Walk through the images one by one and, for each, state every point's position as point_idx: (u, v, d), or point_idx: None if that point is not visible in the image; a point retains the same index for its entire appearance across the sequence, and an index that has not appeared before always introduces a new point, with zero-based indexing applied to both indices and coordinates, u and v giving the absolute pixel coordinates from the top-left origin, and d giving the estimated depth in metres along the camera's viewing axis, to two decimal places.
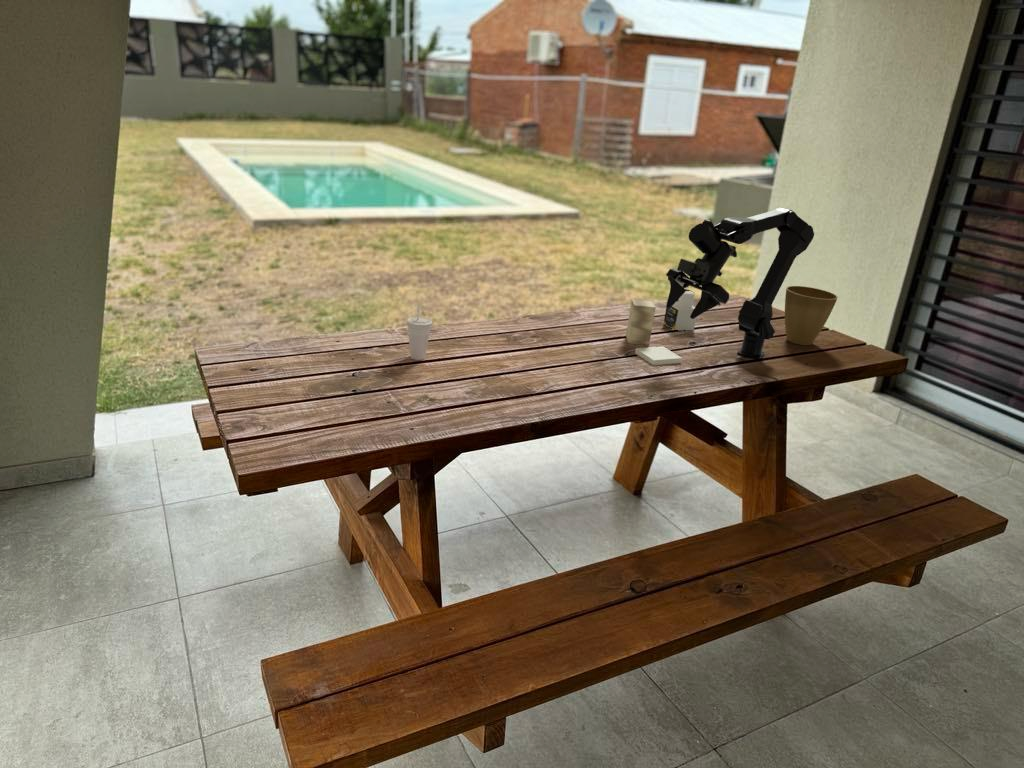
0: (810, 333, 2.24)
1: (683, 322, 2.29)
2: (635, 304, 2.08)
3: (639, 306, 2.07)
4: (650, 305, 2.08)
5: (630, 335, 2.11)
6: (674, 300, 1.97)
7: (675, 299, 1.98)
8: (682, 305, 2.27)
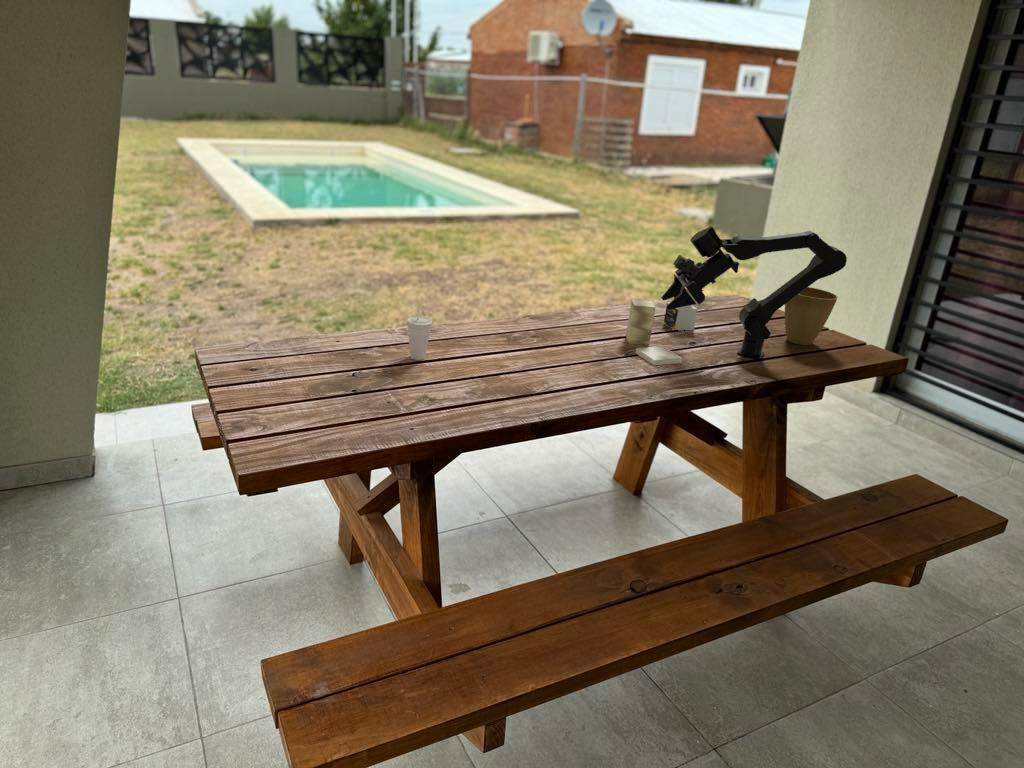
0: (810, 333, 2.24)
1: (683, 322, 2.29)
2: (635, 304, 2.08)
3: (639, 306, 2.07)
4: (650, 305, 2.08)
5: (630, 335, 2.11)
6: (671, 295, 2.13)
7: (672, 294, 2.13)
8: None
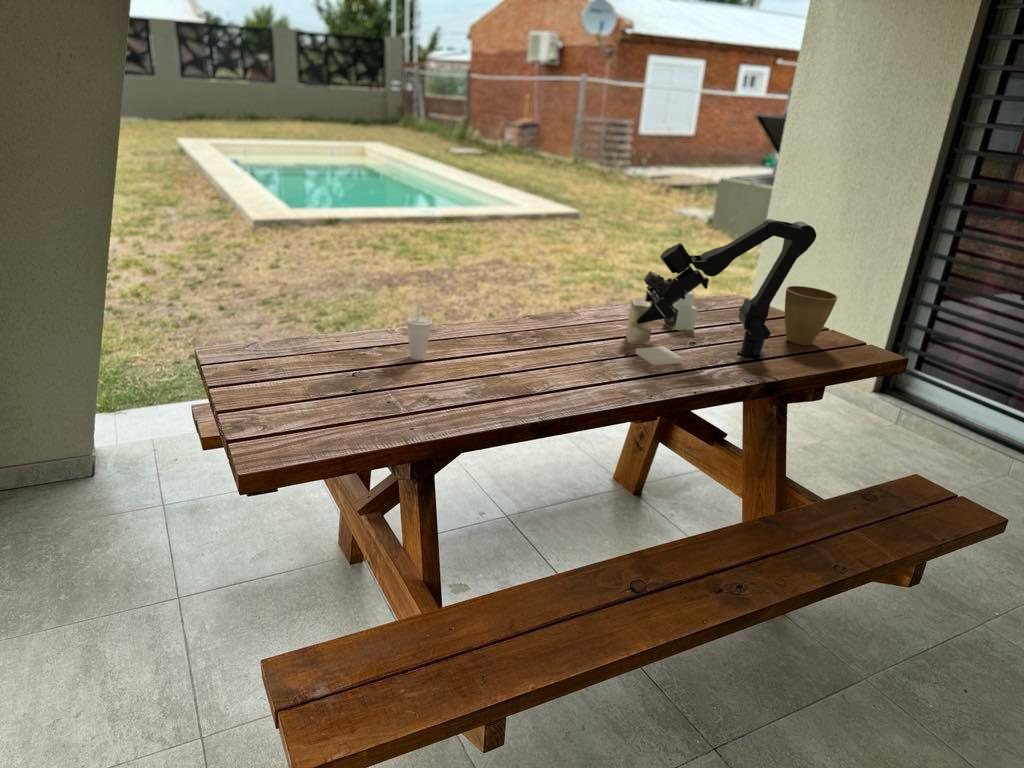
0: (810, 333, 2.24)
1: (683, 322, 2.29)
2: (635, 304, 2.08)
3: (639, 306, 2.07)
4: None
5: (630, 335, 2.11)
6: None
7: None
8: (682, 305, 2.27)
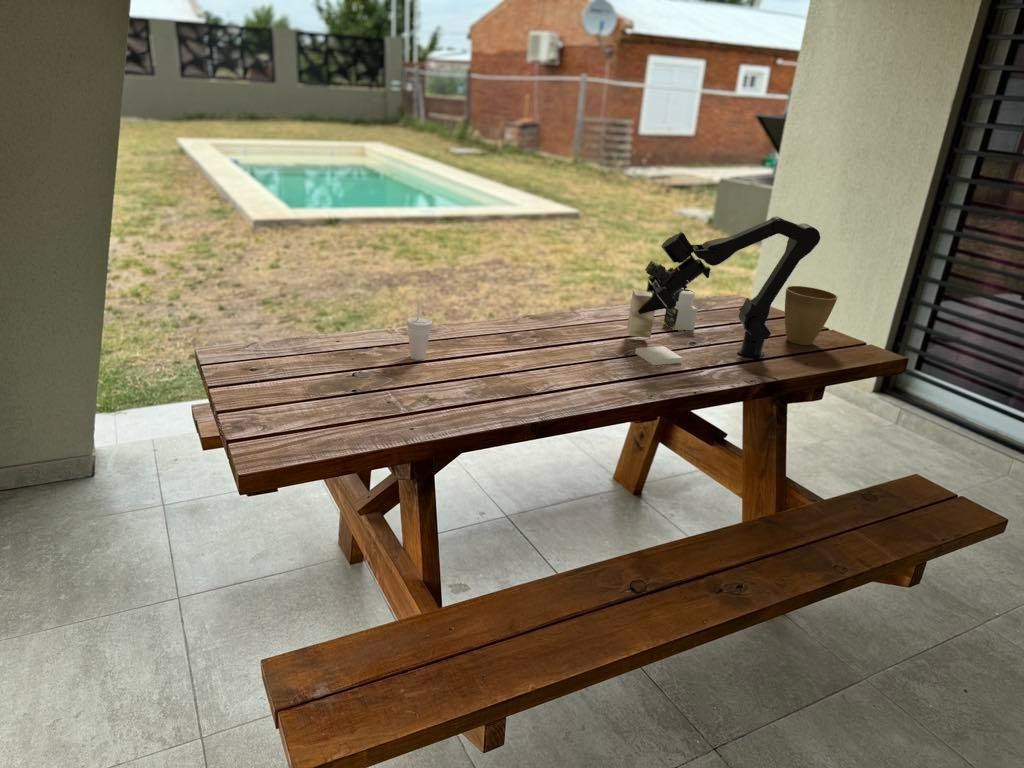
0: (810, 333, 2.24)
1: (683, 322, 2.29)
2: (636, 294, 2.07)
3: (640, 296, 2.06)
4: (651, 295, 2.07)
5: (631, 325, 2.09)
6: None
7: None
8: (682, 305, 2.27)
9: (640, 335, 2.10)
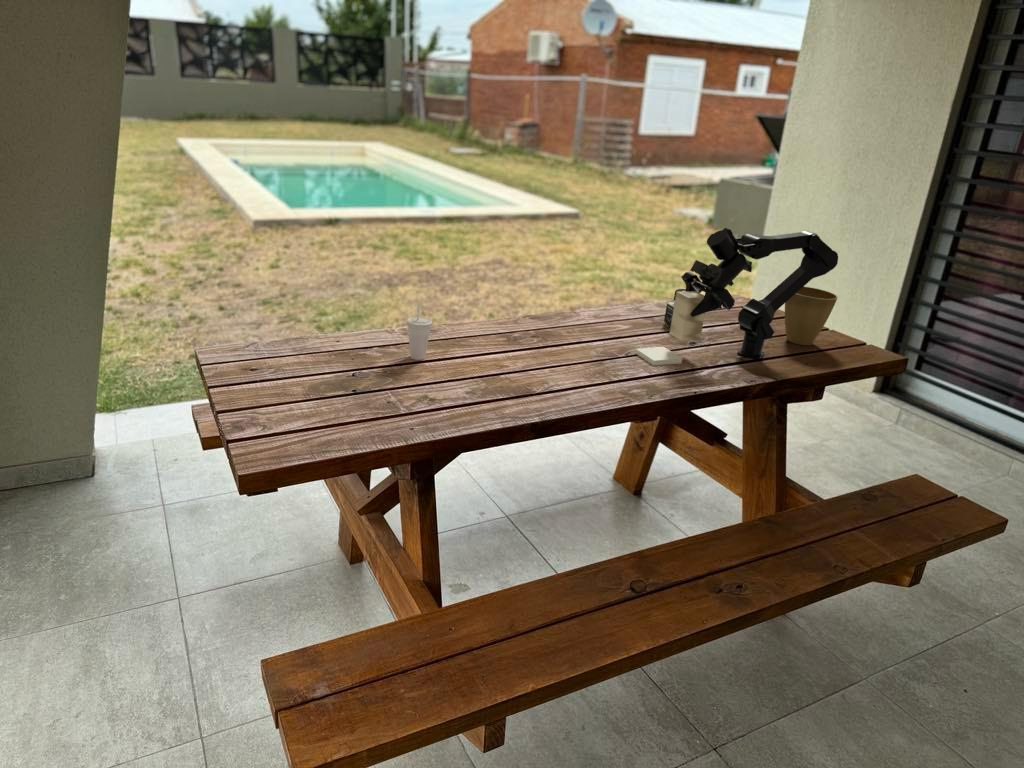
0: (810, 333, 2.24)
1: None
2: (688, 297, 1.96)
3: (693, 298, 1.96)
4: (701, 296, 1.98)
5: (684, 330, 1.99)
6: None
7: None
8: None
9: (691, 338, 2.01)
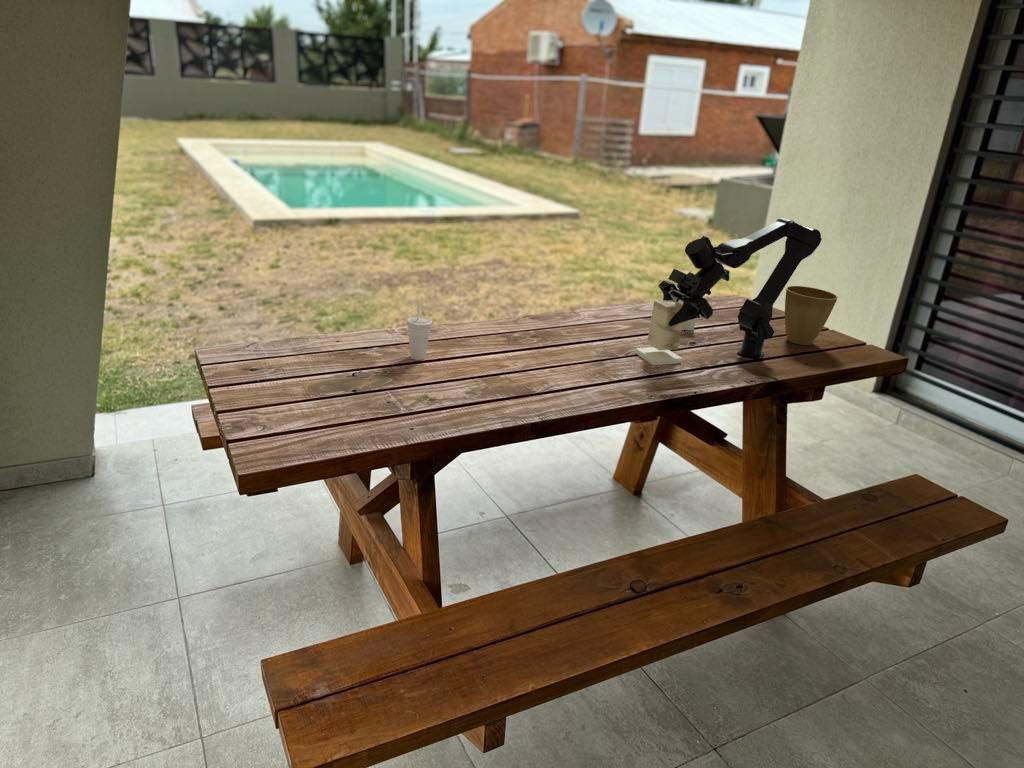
0: (810, 333, 2.24)
1: (683, 322, 2.29)
2: (666, 306, 1.93)
3: (671, 307, 1.93)
4: (679, 305, 1.95)
5: (662, 339, 1.96)
6: None
7: None
8: None
9: (669, 348, 1.98)
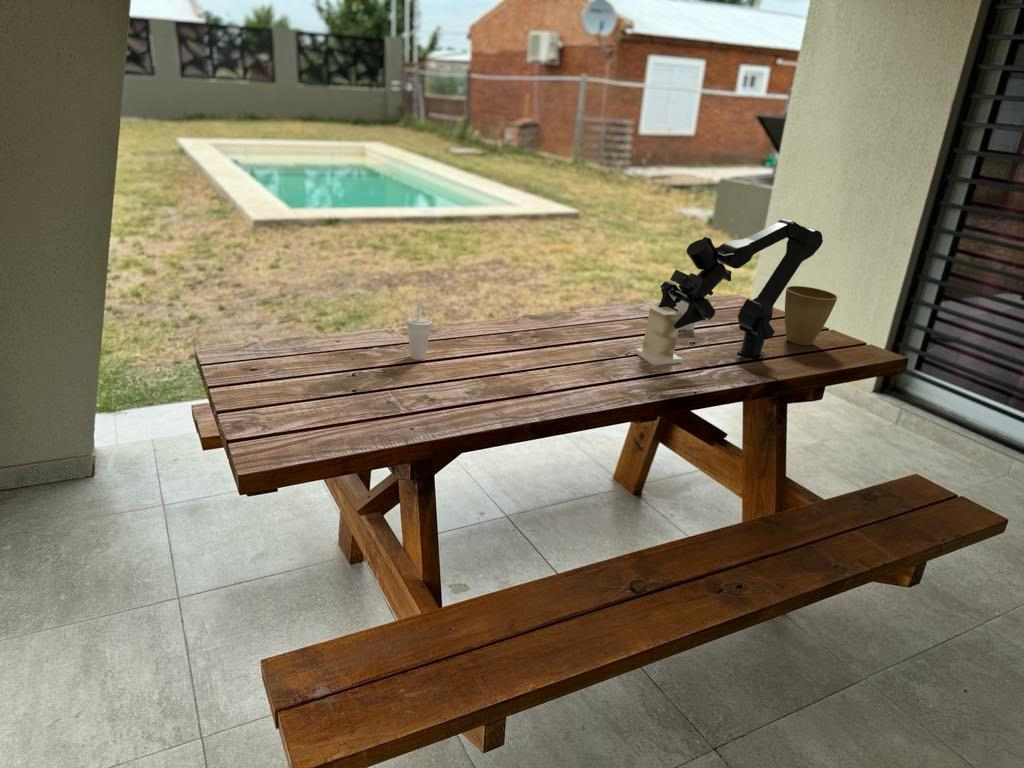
0: (810, 333, 2.24)
1: None
2: (663, 313, 1.94)
3: (668, 315, 1.94)
4: (675, 312, 1.96)
5: (658, 346, 1.97)
6: None
7: None
8: (682, 305, 2.27)
9: (665, 355, 1.99)
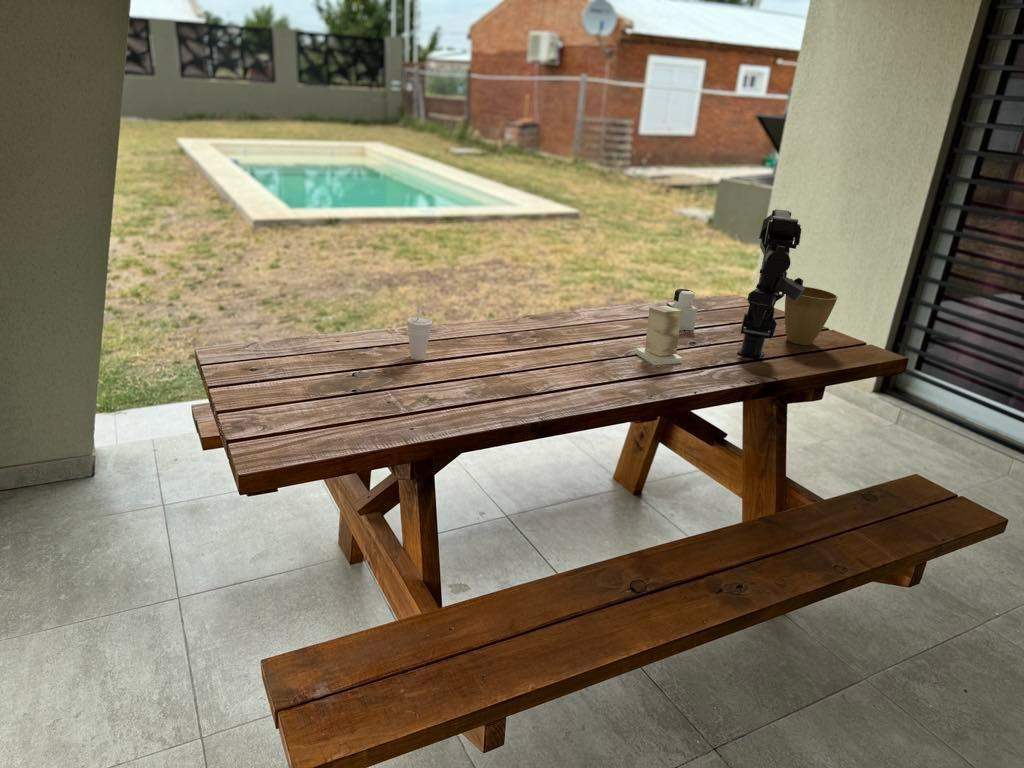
0: (810, 333, 2.24)
1: (683, 322, 2.29)
2: (663, 311, 1.94)
3: (668, 312, 1.94)
4: (674, 309, 1.97)
5: (661, 344, 1.96)
6: None
7: None
8: (682, 305, 2.27)
9: (668, 353, 1.99)
